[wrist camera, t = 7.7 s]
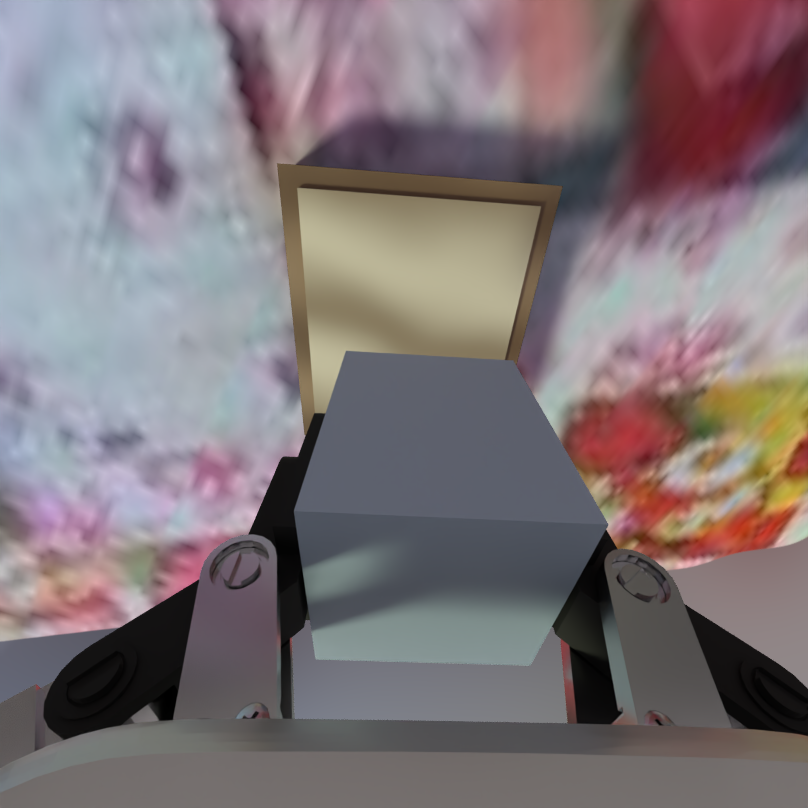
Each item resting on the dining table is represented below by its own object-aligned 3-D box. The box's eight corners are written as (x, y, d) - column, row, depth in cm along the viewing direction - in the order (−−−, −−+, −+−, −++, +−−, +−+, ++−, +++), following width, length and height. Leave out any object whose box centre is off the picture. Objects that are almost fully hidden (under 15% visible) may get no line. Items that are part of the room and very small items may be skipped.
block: (346, 350, 11) (293, 510, 6) (513, 360, 11) (608, 524, 6) (349, 475, 13) (315, 659, 8) (482, 481, 14) (530, 665, 8)
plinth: (294, 164, 17) (275, 163, 15) (539, 184, 18) (565, 186, 15) (314, 408, 25) (303, 437, 22) (486, 416, 25) (496, 445, 23)
